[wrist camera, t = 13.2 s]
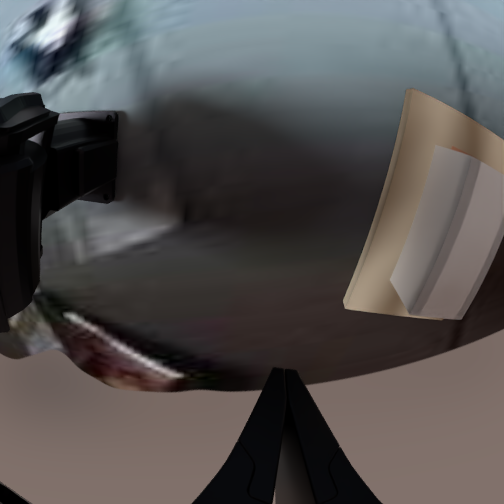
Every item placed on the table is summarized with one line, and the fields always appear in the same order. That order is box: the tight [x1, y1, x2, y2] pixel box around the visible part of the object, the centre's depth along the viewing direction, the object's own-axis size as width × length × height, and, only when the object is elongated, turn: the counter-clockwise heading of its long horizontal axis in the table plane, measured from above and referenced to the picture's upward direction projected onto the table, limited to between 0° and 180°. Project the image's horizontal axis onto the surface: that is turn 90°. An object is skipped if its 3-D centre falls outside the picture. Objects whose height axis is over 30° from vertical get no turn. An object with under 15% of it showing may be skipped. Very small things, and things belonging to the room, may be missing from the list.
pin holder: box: [343, 88, 504, 320], centre depth 15 cm, size 10×16×4 cm, turn 170°
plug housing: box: [390, 145, 504, 320], centre depth 14 cm, size 5×10×4 cm, turn 171°
